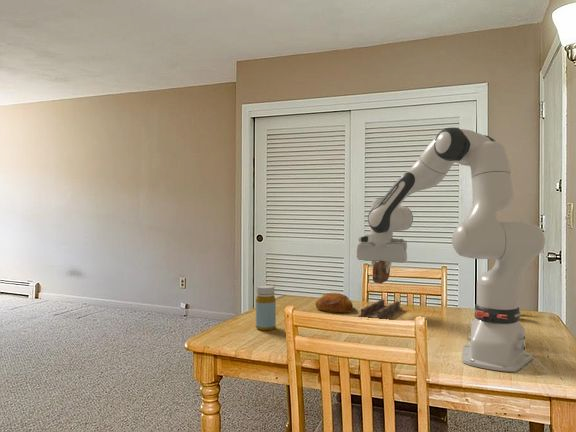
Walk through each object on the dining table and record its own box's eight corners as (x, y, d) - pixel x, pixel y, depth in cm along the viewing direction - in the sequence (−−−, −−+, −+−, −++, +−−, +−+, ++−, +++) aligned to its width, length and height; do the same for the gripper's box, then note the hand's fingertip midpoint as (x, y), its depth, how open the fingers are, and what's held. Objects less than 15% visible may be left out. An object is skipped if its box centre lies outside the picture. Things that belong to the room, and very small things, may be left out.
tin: (377, 285, 180) (379, 263, 179) (370, 283, 181) (372, 262, 180) (389, 279, 193) (391, 259, 192) (382, 278, 194) (384, 258, 194)
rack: (382, 321, 175) (382, 312, 175) (358, 318, 180) (358, 309, 180) (402, 310, 194) (402, 301, 193) (379, 307, 199) (379, 299, 199)
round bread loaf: (343, 320, 186) (346, 301, 185) (310, 310, 194) (312, 291, 193) (358, 312, 198) (360, 294, 197) (326, 303, 206) (328, 285, 205)
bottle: (273, 331, 162) (272, 288, 161) (253, 330, 163) (253, 287, 163) (277, 326, 169) (277, 285, 168) (258, 325, 170) (258, 284, 170)
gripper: (409, 238, 183) (409, 273, 184) (361, 236, 194) (361, 269, 195) (404, 239, 178) (404, 275, 178) (354, 237, 189) (354, 271, 189)
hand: (381, 272), depth 187 cm, fingers closed on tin, 3 cm apart
